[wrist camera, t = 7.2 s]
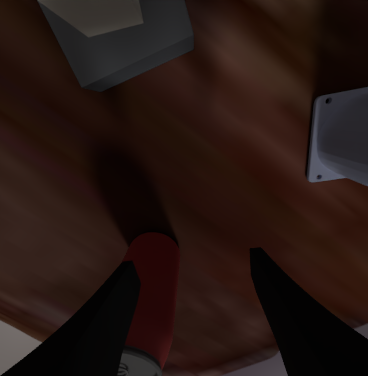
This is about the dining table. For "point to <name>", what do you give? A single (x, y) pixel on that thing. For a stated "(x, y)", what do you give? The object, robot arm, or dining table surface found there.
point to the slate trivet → (125, 44)
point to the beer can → (151, 305)
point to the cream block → (97, 14)
